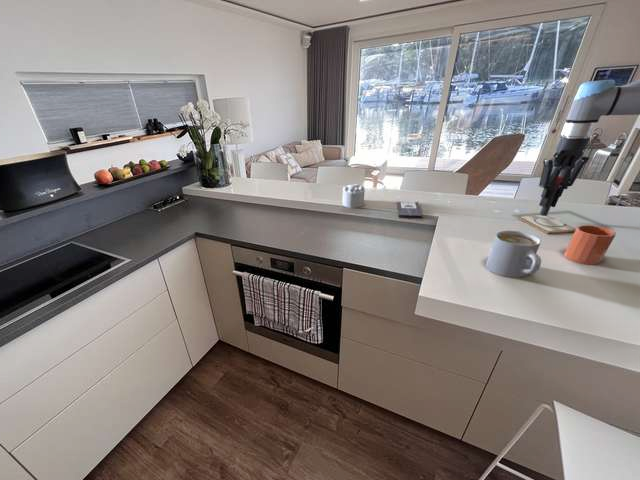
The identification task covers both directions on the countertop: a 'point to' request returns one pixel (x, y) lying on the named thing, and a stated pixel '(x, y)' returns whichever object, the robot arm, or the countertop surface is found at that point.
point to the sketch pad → (546, 224)
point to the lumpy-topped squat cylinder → (353, 196)
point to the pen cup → (589, 244)
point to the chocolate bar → (409, 209)
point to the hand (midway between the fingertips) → (546, 205)
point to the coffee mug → (514, 254)
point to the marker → (545, 210)
